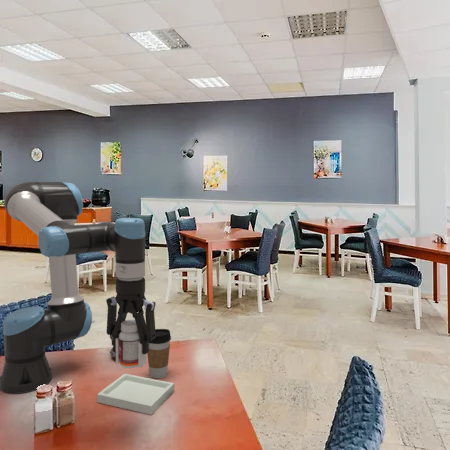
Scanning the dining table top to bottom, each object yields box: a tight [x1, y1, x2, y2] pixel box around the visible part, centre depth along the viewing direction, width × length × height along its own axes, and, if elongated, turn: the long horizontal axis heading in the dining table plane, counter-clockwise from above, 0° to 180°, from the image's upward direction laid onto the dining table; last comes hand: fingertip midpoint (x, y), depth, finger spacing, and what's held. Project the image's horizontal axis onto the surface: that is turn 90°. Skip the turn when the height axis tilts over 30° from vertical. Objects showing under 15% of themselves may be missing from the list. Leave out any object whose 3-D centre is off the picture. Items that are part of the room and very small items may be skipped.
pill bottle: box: [118, 319, 141, 369], centre depth 106 cm, size 6×6×11 cm
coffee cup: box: [146, 328, 172, 379], centre depth 135 cm, size 8×8×15 cm
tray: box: [96, 373, 175, 415], centre depth 121 cm, size 18×14×2 cm
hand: (131, 362), depth 107 cm, fingers closed on pill bottle, 6 cm apart
